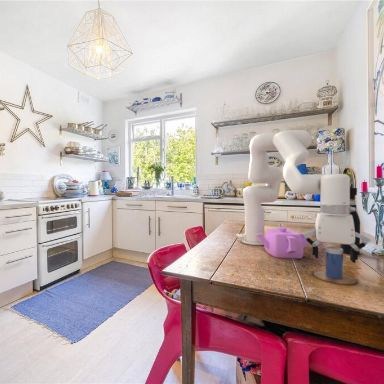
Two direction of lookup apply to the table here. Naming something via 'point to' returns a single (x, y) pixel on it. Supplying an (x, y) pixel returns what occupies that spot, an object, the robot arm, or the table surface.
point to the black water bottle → (356, 220)
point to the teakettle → (283, 243)
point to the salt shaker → (334, 263)
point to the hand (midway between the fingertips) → (333, 259)
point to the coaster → (346, 279)
